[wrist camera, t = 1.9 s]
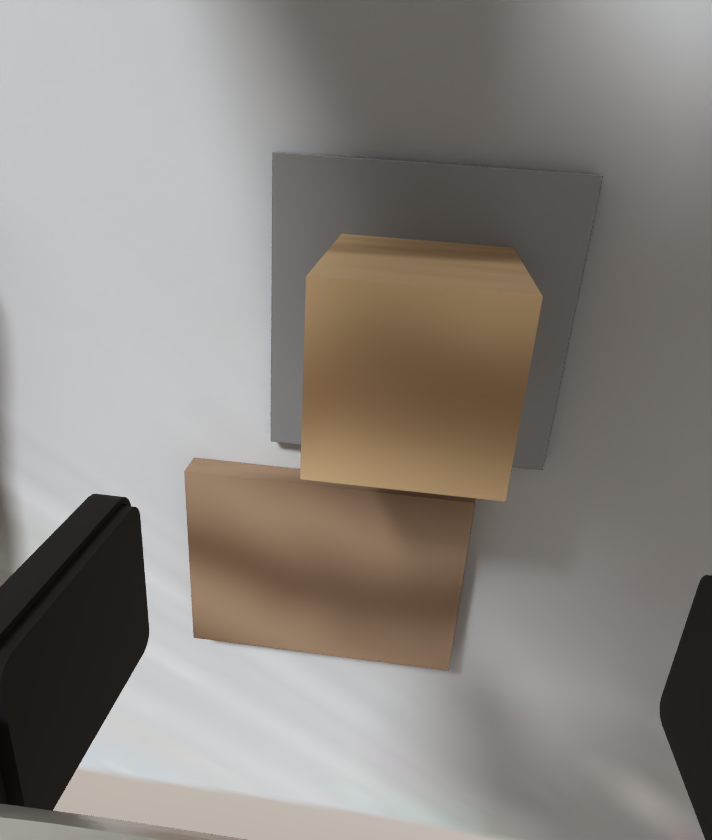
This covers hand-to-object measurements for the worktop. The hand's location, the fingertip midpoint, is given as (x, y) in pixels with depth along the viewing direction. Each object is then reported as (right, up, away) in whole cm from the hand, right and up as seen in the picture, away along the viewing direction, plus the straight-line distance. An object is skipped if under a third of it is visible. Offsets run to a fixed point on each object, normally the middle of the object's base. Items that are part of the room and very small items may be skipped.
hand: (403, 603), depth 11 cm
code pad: (+2, +7, +14) cm, 16 cm away
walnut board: (-2, -3, +19) cm, 19 cm away
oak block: (+2, +7, +13) cm, 15 cm away
